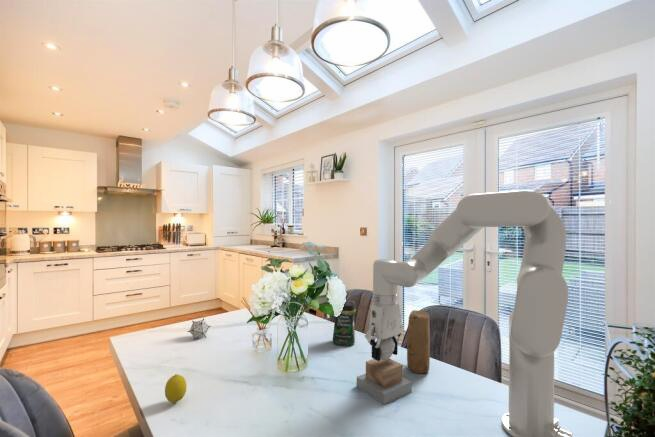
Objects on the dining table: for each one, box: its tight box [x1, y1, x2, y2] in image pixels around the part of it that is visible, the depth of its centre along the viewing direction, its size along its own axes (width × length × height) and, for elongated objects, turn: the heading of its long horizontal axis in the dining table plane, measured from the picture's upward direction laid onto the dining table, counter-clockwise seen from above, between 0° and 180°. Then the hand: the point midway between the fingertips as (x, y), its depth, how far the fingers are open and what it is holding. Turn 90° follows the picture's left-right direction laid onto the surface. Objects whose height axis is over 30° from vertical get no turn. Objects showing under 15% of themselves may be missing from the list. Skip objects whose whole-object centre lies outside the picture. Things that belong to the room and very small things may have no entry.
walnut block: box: [365, 358, 404, 389], centre depth 97 cm, size 8×8×5 cm
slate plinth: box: [356, 373, 413, 405], centre depth 97 cm, size 12×12×3 cm
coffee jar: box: [332, 299, 357, 347], centre depth 134 cm, size 10×8×19 cm
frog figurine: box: [379, 338, 395, 360], centre depth 97 cm, size 6×7×7 cm
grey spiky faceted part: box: [187, 317, 212, 341], centre depth 137 cm, size 9×8×10 cm
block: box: [406, 309, 431, 374], centre depth 112 cm, size 11×8×20 cm
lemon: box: [164, 373, 187, 404], centre depth 88 cm, size 6×6×8 cm
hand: (384, 355), depth 97 cm, fingers closed on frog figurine, 6 cm apart
